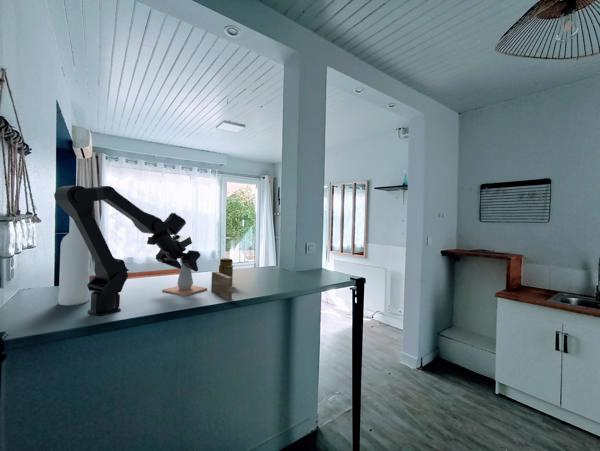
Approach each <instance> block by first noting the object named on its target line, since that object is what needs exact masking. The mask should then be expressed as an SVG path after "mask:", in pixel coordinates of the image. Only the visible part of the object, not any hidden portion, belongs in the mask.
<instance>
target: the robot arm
mask: <svg viewBox="0 0 600 451" xmlns="http://www.w3.org/2000/svg"><path fill="white" fill-rule="evenodd" d="M54 192H55V193H54V194H53V197H54V200H55V201H56V203H57V204H58V205H59V207H60V209H62V210H63V212H64V213H66V214H67V215H68V217H69V216H70V217H71V218H72V219H73V220H74V222H75V224H76V226H77V228H78V229H79V231H80V233H81V235H82V237H83V239H84V241H85V243H86V245H87V247H88V249H89V251H90V256H91V257H92V258H93V261H94V270H93V271H94V273H95V276H94V277H93V278H92V279H91V280H89V283H88V284H87V287H88V289H89V292H90V309H88V310H87V313H90V314H92V315H94V316H97V317H99V316H104V315H107V314H111V313H112V314H113V313H115V312H121V311H122V308H120V304H121V302H120V301H121V295H120V294H119V293H122V291H123V288H124V285H125V283H126V281H127V279H129V273H128V271H129V269H128V268H127V267H126V262H125V261H124V259H119V258H115V257H114V256H113V255H112V252H111V250H110V247H109V246H108V244H107V242H106V239H105V237H104V235H103V232H102V231H101V229H100V227H99V224H98V222H97V220H96V219H95V216H94V202H99V201H103V202H104V203H105V204H107V205H108V206H110V207H112V208H113V209H115V210H116V211H117V212H119V213H120V214H122V215H123V216H125V217H126V218H128V219H129V220H130V221H132V223H133V225H134V226H135V227H136V228H137V229H138V230H139V232H141V233H143V234H150V235H151V236H148V237H147V241H146V244H147V245H151V246H155V245H156V246H157V247H158V248H159V249H160V250H159V251H158V252H157V254H156V255H155V259H156V261H157V262H159V263H162V264H164V265H168V266H170V267H173V268H176V269H179V270H181V265H182V263H183V265H185V267H187V268H189V269H191V271H194V272H196V273H197V272H198V271H199V268H198V263H197V261H198V260H199V259H200V257H201V253H200V252H199V250H193V249H191V250H190V249H189V250H188V251H187V252H185V251H186V250H187V248H186V247H188V246H189V245H192V244H193V241H192V239H191V236H190V235H185V234H183V235H179V232H181V230H182V229H183V228H184V227H185V225H186V224H187V221H186V220H185V219H184V218H183V217H182V216H180V215H178V214H177V213H176V212H170V214H169V215H168V216H167V218H165V220H164V221H163V220H162V219H161V217H160V218H159V217H157V216H155V215H154V214H151V213H148V212H146V211H144V210H142V208H139V207H138V206H137V205H135V204H134V203H133V202H131V201H130V200H129V199H127V198H126V197H125V196H124V195H122V194H121V193H119V192H118V191H117V190H115V188H114V187H112V186H111V185H100V186H99V185H98V186H95V187H93V186H92V187H84V186H82V185H63V186H60V187H58V188H57V189H56V190H55V191H54ZM178 259H179V260H181V259H182V263H181V262H179V261H178Z"/></svg>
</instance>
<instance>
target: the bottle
mask: <svg viewBox="0 0 600 451" xmlns="http://www.w3.org/2000/svg"><path fill="white" fill-rule="evenodd" d="M68 218H69V224H68V225H69V231H68V232H69V233H67V234H66V235H65V236H63V237H62V240H61V242H60V250H59V251H60V252H59V253H60V254H59V277H58V278H59V281H58V282H59V283H58V285H59V286H58V296H57V299H58V304H59V305H60V306H66V307H69V306H78V305H81V304H82V305H83V304H85V303H86V304H87V302H88V301H89V296H90V291H89V289H88V287H87V284H88V283H89V282H90V269H91V268H90V267H91V266H90V264H91V263H90V262H91V253H90V251H89V249H88V247H87V245H86V243H85V241H84V239H83V237H82V235H81V233H80V231H79V229H78V228H77V226H76V224H75V222H74V220H73V219H72V218H71V217H70V216H69V215H68Z"/></svg>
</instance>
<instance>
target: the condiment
mask: <svg viewBox="0 0 600 451" xmlns="http://www.w3.org/2000/svg"><path fill="white" fill-rule="evenodd" d="M233 269H234V265H233V259H232V258H225V257H224V258H220V260H219V265H218V272H219V273H222V274H224V275H227V276H230V277H232V278H233V277H234V276H233V274H234V273H233V271H234V270H233ZM233 288H234V285H233V286H232V289H233Z"/></svg>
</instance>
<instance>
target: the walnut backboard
mask: <svg viewBox="0 0 600 451" xmlns="http://www.w3.org/2000/svg"><path fill="white" fill-rule="evenodd" d="M233 279H234V277H233V276H232V277H230V276H227V275H224V274H222V273H219V271H211V287H210V288H211V289H210V292H212V293H214V294H215V295H218V296H220V297H221V298H223V299H225V300H232V299H233V297H232V296H233V288H232V284H233Z"/></svg>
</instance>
